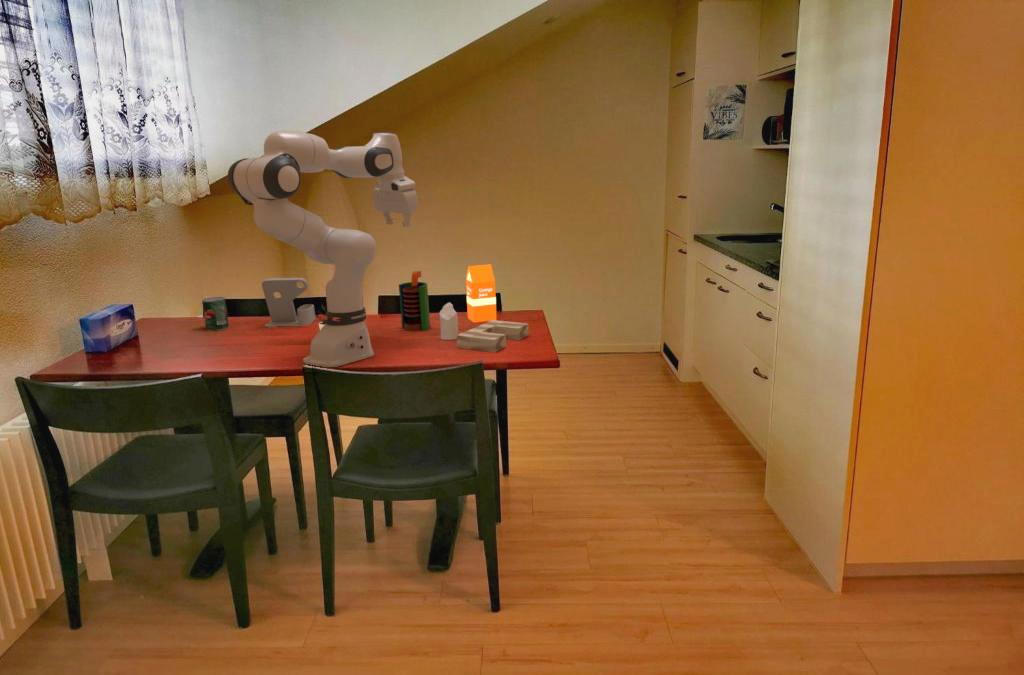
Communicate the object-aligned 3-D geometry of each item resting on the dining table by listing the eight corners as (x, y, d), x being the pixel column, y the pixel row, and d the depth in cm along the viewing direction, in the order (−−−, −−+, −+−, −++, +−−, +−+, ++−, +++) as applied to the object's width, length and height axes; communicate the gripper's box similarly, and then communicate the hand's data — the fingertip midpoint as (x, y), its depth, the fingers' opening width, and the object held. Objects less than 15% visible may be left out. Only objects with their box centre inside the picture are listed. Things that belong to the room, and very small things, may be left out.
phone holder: (318, 320, 276) (313, 273, 272) (310, 326, 267) (305, 278, 262) (272, 321, 277) (267, 274, 272) (263, 327, 267) (257, 279, 263)
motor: (397, 330, 257) (393, 274, 252) (409, 324, 265) (405, 269, 260) (424, 331, 254) (420, 274, 249) (434, 325, 262) (431, 270, 257)
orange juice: (467, 318, 271) (464, 264, 266) (489, 315, 274) (487, 262, 269) (473, 322, 264) (471, 267, 259) (496, 320, 267) (494, 265, 262)
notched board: (495, 352, 226) (494, 339, 225) (457, 347, 233) (456, 335, 232) (528, 335, 244) (528, 323, 243) (492, 331, 251) (492, 320, 250)
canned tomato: (201, 330, 266) (197, 301, 263) (214, 325, 273) (210, 296, 270) (220, 331, 264) (216, 301, 261) (233, 326, 271) (229, 297, 269)
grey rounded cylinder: (437, 304, 239) (440, 301, 244) (439, 340, 242) (442, 335, 248) (455, 304, 239) (458, 300, 244) (457, 339, 242) (459, 335, 247)
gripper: (365, 183, 242) (372, 225, 246) (402, 186, 227) (408, 230, 232) (381, 180, 246) (387, 221, 250) (418, 182, 231) (424, 226, 236)
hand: (398, 225), depth 241 cm, fingers open, 8 cm apart
